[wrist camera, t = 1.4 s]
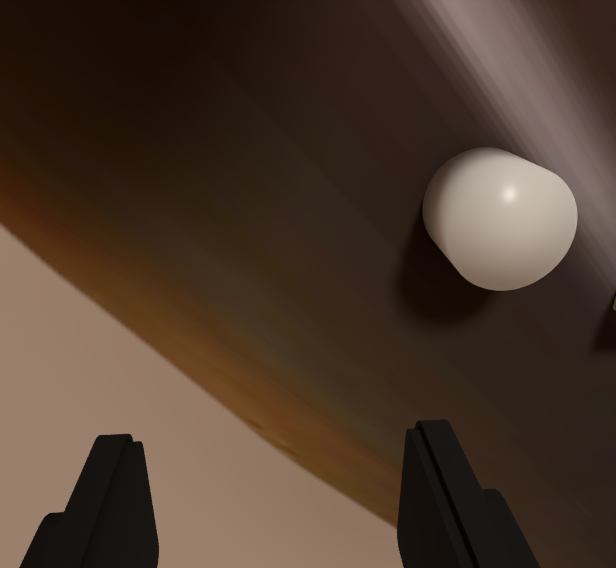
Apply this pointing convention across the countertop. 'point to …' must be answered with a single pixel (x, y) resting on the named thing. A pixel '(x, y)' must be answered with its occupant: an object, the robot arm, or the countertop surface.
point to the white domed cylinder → (499, 217)
